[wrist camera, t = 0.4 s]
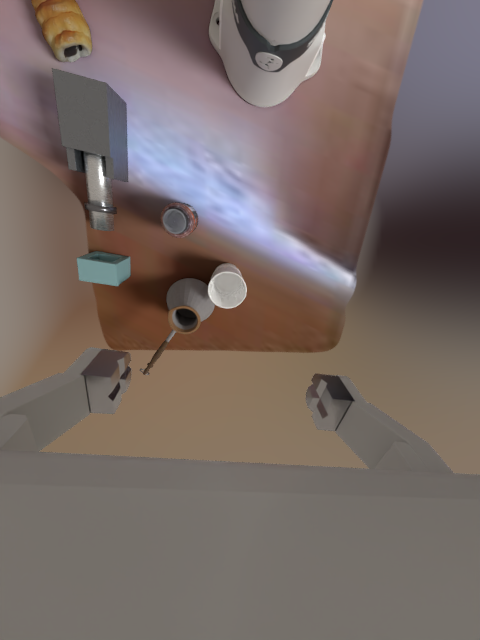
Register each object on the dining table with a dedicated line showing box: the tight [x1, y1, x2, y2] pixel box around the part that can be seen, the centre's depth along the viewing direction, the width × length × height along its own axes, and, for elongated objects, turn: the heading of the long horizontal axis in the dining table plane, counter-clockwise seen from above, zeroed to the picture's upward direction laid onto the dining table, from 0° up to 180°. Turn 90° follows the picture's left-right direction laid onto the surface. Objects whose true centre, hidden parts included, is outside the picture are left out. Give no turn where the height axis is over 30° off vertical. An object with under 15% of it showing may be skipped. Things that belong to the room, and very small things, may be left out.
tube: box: [83, 151, 117, 231], centre depth 40 cm, size 19×5×5 cm, turn 169°
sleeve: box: [52, 68, 128, 182], centre depth 38 cm, size 12×7×7 cm, turn 169°
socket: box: [77, 251, 131, 286], centre depth 48 cm, size 4×7×7 cm, turn 79°
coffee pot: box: [140, 278, 215, 375], centre depth 51 cm, size 21×12×15 cm, turn 140°
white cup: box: [208, 263, 247, 308], centre depth 50 cm, size 8×8×10 cm
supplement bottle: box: [161, 202, 198, 238], centre depth 43 cm, size 6×6×11 cm
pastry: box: [31, 0, 92, 62], centre depth 33 cm, size 9×7×4 cm
